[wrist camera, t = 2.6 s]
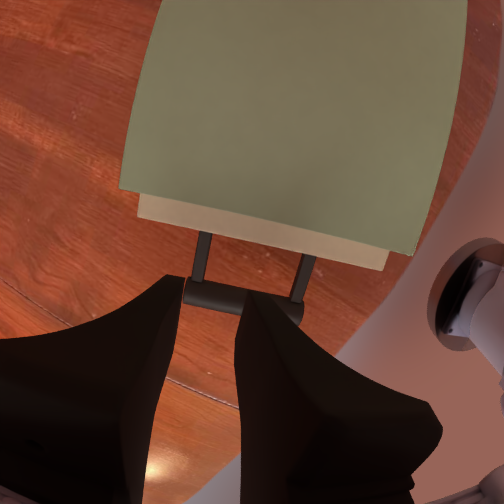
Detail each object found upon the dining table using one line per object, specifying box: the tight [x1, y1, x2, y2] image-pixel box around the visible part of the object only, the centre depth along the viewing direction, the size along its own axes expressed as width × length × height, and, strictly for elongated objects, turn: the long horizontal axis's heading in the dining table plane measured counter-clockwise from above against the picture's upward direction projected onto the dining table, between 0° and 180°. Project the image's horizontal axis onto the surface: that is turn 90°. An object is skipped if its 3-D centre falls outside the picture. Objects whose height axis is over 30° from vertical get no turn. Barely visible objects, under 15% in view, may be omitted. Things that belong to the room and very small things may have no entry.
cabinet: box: [119, 0, 467, 256], centre depth 13 cm, size 14×12×9 cm
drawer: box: [137, 193, 390, 326], centre depth 15 cm, size 17×10×7 cm, turn 167°
